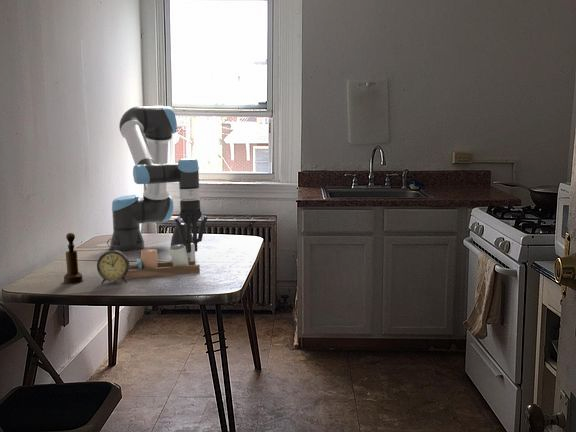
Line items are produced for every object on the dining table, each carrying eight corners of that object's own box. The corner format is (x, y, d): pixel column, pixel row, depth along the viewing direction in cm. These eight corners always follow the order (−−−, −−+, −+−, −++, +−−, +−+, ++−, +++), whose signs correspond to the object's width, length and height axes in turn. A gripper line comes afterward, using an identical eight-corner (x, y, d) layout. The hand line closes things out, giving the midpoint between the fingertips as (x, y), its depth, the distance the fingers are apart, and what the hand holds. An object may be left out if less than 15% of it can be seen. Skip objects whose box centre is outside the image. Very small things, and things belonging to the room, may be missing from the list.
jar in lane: (141, 272, 263) (140, 249, 261) (157, 271, 265) (156, 248, 263) (142, 276, 257) (141, 252, 256) (159, 274, 259) (158, 251, 258)
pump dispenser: (191, 262, 279) (189, 225, 277) (167, 261, 282) (165, 224, 279) (199, 256, 289) (198, 221, 287) (176, 256, 291) (174, 220, 289)
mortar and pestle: (63, 280, 252) (60, 232, 250) (81, 278, 255) (78, 230, 252) (65, 284, 246) (61, 235, 244) (83, 282, 249) (80, 233, 246)
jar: (173, 269, 267) (168, 245, 264) (188, 266, 268) (184, 242, 266) (175, 273, 261) (170, 249, 259) (190, 270, 262) (186, 245, 260)
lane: (119, 273, 262) (119, 265, 262) (194, 266, 271) (194, 259, 271) (121, 279, 253) (121, 271, 252) (199, 272, 261) (199, 265, 261)
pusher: (121, 272, 261) (120, 259, 260) (140, 271, 263) (139, 258, 262) (122, 277, 254) (121, 263, 253) (142, 275, 256) (141, 262, 256)
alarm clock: (97, 285, 245) (95, 240, 242) (100, 281, 250) (97, 237, 248) (128, 284, 246) (126, 239, 243) (130, 280, 251) (128, 236, 249)
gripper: (174, 201, 256) (177, 263, 259) (208, 199, 260) (211, 260, 263) (171, 199, 263) (174, 259, 266) (204, 197, 267) (207, 256, 270)
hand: (192, 260), depth 265 cm, fingers closed
